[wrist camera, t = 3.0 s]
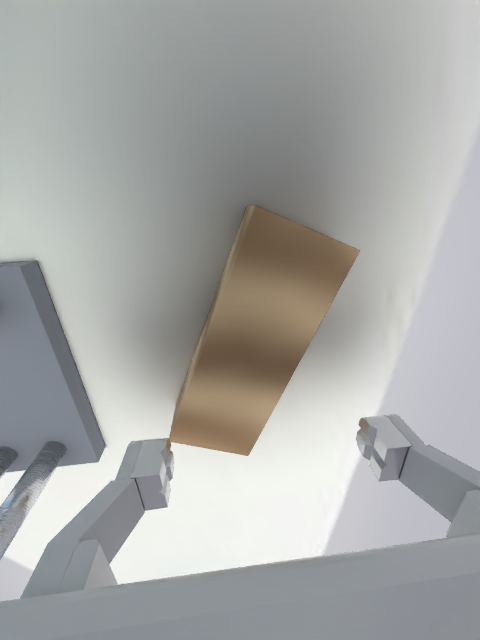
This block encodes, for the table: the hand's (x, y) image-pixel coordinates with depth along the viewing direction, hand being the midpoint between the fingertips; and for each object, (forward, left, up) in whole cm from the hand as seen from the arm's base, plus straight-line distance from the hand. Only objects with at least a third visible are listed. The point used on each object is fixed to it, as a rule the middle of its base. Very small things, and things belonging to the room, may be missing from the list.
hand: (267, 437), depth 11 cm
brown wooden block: (-1, 0, -9) cm, 9 cm away
